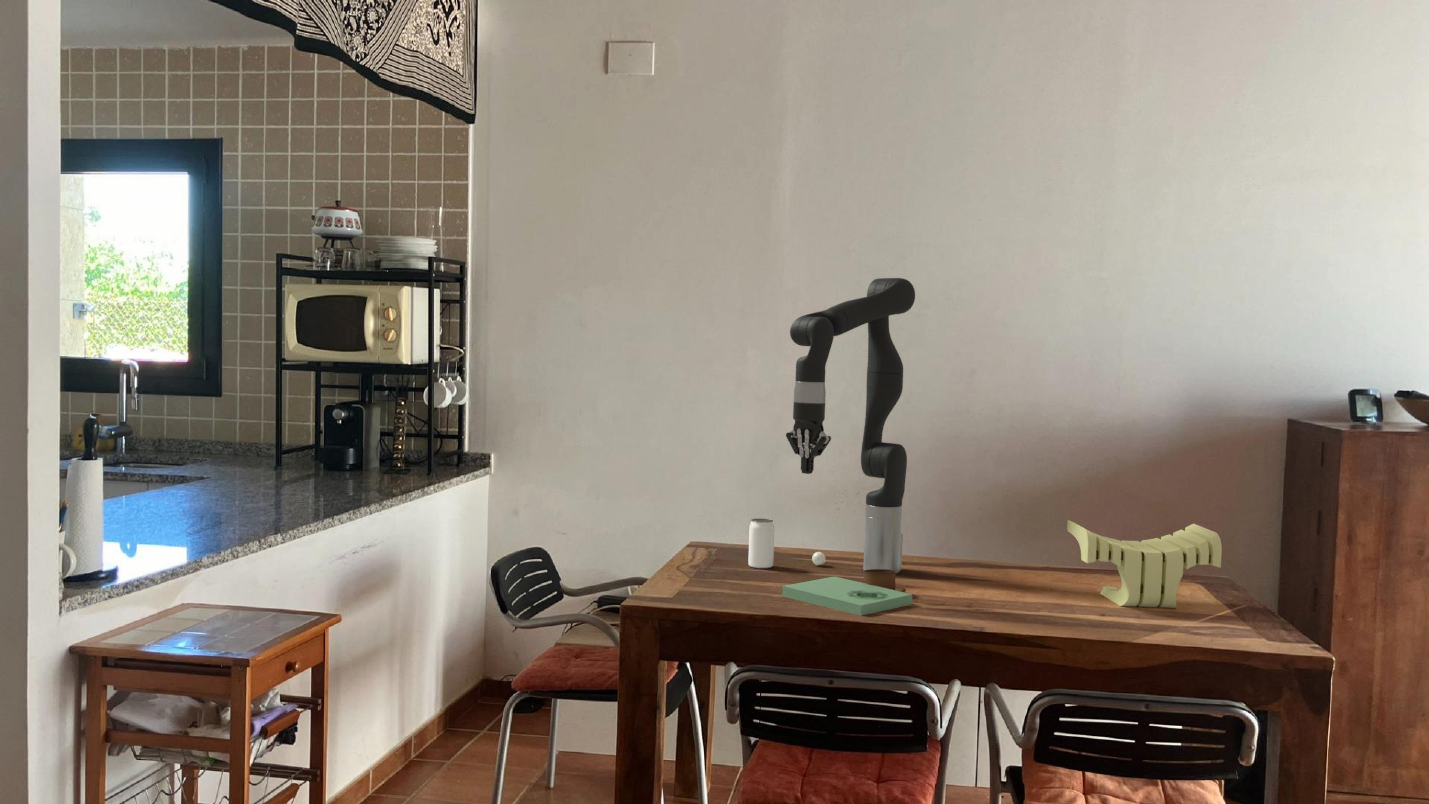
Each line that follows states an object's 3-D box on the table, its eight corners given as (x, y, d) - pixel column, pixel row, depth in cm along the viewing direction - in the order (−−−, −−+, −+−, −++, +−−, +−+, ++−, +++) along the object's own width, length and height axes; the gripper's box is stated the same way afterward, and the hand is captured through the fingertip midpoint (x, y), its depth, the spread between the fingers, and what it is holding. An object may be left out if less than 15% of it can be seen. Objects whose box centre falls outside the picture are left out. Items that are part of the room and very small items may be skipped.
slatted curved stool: (1085, 608, 253) (1088, 530, 252) (1064, 592, 269) (1067, 519, 268) (1218, 613, 252) (1222, 534, 251) (1189, 597, 268) (1193, 523, 267)
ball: (817, 563, 295) (808, 555, 294) (827, 555, 295) (818, 547, 294) (819, 570, 292) (810, 561, 291) (829, 561, 291) (820, 553, 290)
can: (771, 569, 285) (772, 522, 285) (746, 567, 287) (747, 521, 286) (774, 564, 292) (776, 519, 291) (750, 563, 293) (751, 517, 292)
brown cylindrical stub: (843, 597, 262) (843, 571, 262) (877, 592, 270) (877, 566, 270) (882, 602, 253) (881, 575, 253) (916, 597, 260) (916, 570, 261)
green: (782, 596, 255) (782, 585, 255) (833, 586, 267) (834, 576, 267) (860, 617, 238) (861, 605, 238) (912, 605, 250) (912, 594, 250)
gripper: (841, 402, 263) (838, 475, 264) (799, 399, 273) (797, 469, 274) (819, 402, 258) (817, 477, 259) (778, 399, 268) (775, 471, 268)
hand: (806, 473), depth 266 cm, fingers closed
